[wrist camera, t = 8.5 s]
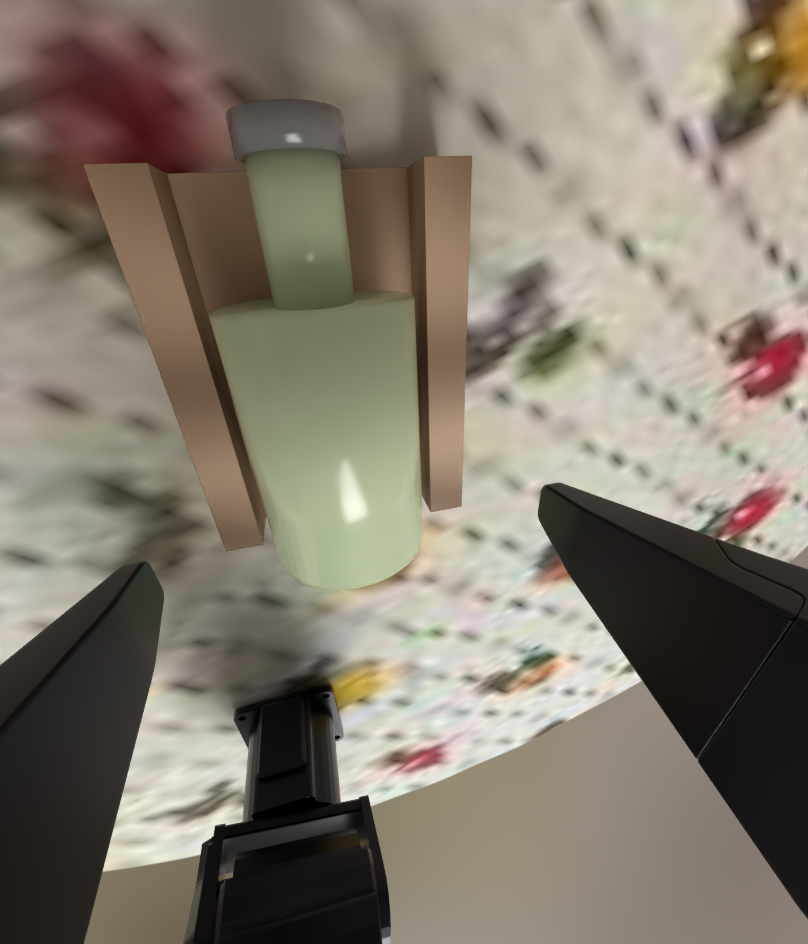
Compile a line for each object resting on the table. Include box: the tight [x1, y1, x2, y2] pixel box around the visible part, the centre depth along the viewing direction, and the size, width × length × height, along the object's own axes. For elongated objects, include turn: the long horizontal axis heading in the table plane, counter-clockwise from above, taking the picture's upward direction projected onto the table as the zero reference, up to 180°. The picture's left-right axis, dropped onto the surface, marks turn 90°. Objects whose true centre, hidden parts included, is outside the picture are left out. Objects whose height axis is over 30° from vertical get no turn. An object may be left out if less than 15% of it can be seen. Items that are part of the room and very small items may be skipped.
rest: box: [83, 156, 472, 551], centre depth 16 cm, size 13×10×3 cm
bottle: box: [209, 99, 423, 590], centre depth 13 cm, size 13×6×6 cm, turn 3°
